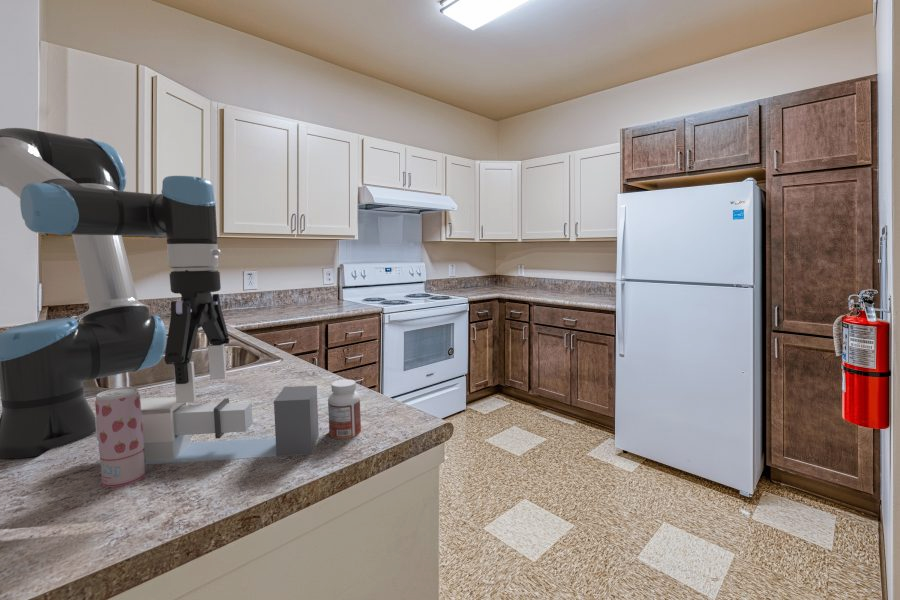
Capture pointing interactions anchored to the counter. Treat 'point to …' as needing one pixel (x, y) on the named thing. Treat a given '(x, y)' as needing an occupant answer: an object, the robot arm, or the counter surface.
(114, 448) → the beverage can
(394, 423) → the counter surface
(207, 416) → the tube
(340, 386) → the pill bottle
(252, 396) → the counter surface
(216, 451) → the mounting board
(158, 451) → the sleeve
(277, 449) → the socket
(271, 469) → the counter surface
